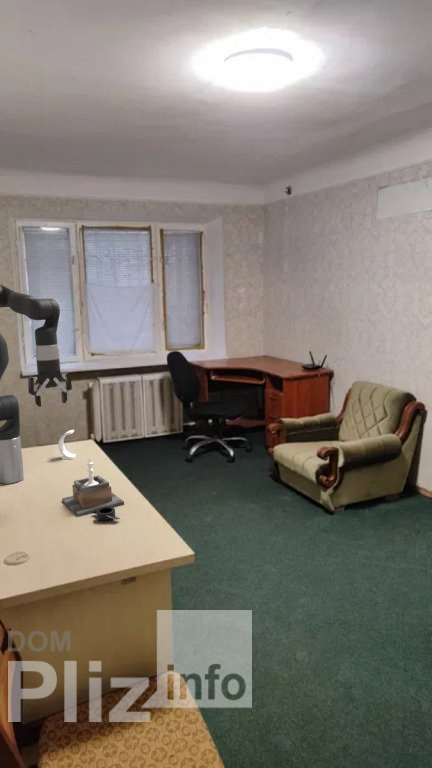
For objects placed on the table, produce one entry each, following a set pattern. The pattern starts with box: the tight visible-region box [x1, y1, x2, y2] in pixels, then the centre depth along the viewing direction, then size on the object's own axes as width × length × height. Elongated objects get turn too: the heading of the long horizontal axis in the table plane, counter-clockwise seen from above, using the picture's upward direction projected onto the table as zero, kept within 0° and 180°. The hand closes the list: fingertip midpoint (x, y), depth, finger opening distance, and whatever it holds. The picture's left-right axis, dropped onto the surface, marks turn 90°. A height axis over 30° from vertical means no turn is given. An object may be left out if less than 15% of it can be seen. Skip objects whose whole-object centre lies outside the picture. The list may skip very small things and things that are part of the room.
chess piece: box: [84, 457, 99, 487], centre depth 182 cm, size 5×5×10 cm
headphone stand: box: [57, 429, 77, 460], centre depth 234 cm, size 5×6×12 cm
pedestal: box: [61, 475, 125, 517], centre depth 183 cm, size 16×16×8 cm
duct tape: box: [92, 507, 121, 523], centre depth 170 cm, size 8×10×3 cm
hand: (51, 404), depth 186 cm, fingers open, 8 cm apart
